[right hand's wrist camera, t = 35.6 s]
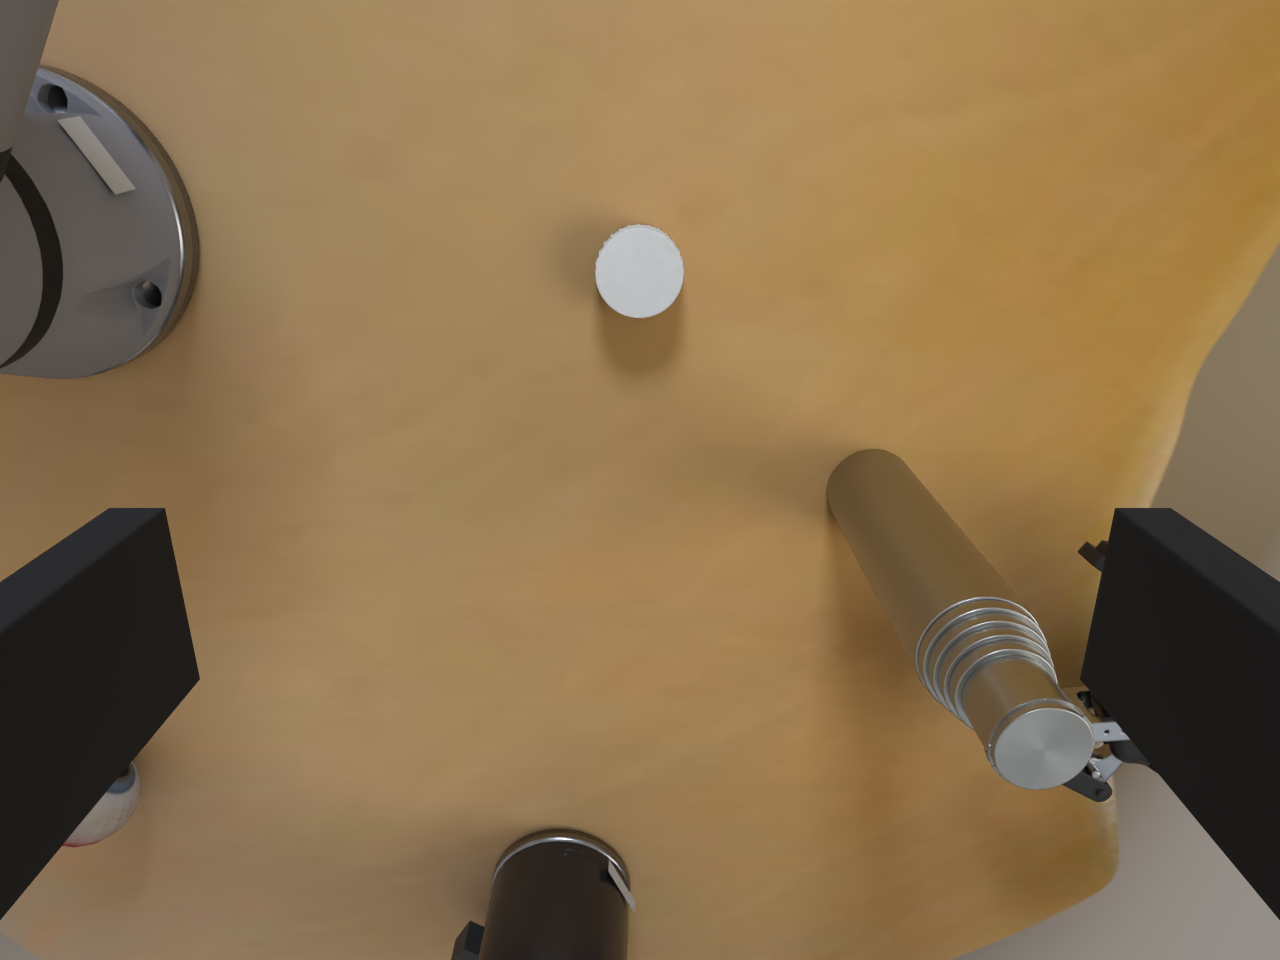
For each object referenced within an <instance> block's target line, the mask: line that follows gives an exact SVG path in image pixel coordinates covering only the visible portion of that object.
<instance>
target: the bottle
mask: <svg viewBox="0 0 1280 960" xmlns="http://www.w3.org/2000/svg"><path fill="white" fill-rule="evenodd" d="M827 501H828V505H829V508H830V510H831V512H832V513H833V515H834V517H835V519H836V521H837V523H838V525H839V527H840V529H841V531H842V532H843V534H844V536H845V538H846V540H847V542H848V544H849V546H850V548H851V550H852V551H853V553H854V555H855V557H856V559H857V561H858V563H859V565H860V567H861V569H862V570H863V572H864V574H865V576H866V578H867V580H868V582H869V584H870V586H871V588H872V589H873V591H874V593H875V595H876V597H877V599H878V601H879V603H880V605H881V607H882V608H883V610H884V612H885V614H886V616H887V618H888V620H889V622H890V624H891V626H892V627H893V629H894V631H895V633H896V635H897V637H898V639H899V641H900V643H901V645H902V646H903V648H904V650H905V652H906V654H907V656H908V658H909V660H910V662H911V664H912V665H913V667H914V669H915V671H916V673H917V675H918V677H919V679H920V681H921V682H922V684H923V685H924V687H925V688H926V689H927V690H928V691H929V692H930V694H931V695H932V696H933V697H934V698H935V699H936V700H937V701H938V702H939V703H940V704H942V705H943V706H944V707H945V708H946V709H947V710H949V711H950V712H951V713H953V714H954V715H955V716H956V717H957V718H958V719H960V720H961V721H963V722H964V723H965V724H966V725H967V726H968V727H970V728H971V729H973V730H975V732H976V734H977V735H978V737H979V739H980V741H981V742H982V744H983V746H984V751H985V753H986V756H987V759H988V760H989V762H990V763H991V766H992V767H993V768H994V770H995V771H996V772H997V773H998V775H999V776H1000V777H1002V778H1003V779H1005V780H1007V781H1008V782H1009V783H1011V784H1013V785H1015V786H1018V787H1021V788H1024V789H1031V790H1042V789H1049V788H1053V787H1056V786H1059V785H1062V784H1064V783H1066V782H1068V781H1069V780H1071V779H1072V778H1074V777H1075V776H1076V775H1078V774H1079V773H1080V772H1081V771H1082V770H1083V769H1084V767H1085V766H1086V765H1087V763H1088V762H1089V760H1090V758H1091V756H1092V753H1093V749H1094V747H1095V732H1094V729H1093V726H1092V724H1091V723H1090V721H1089V720H1088V719H1087V717H1086V716H1085V715H1084V714H1083V712H1082V711H1081V710H1080V708H1078V707H1077V706H1075V705H1074V704H1073V703H1072V702H1071V701H1070V700H1069V698H1068V697H1067V696H1066V695H1065V693H1064V692H1063V691H1062V689H1061V688H1060V687H1059V686H1058V679H1057V675H1056V673H1055V668H1054V664H1053V661H1052V659H1051V654H1050V651H1049V648H1048V644H1047V640H1046V638H1045V635H1044V633H1043V632H1042V630H1041V628H1040V626H1039V624H1038V622H1037V620H1036V619H1035V617H1034V616H1033V615H1032V614H1031V612H1030V611H1029V610H1028V609H1027V608H1026V607H1025V605H1024V604H1023V603H1022V602H1021V601H1020V599H1019V598H1018V597H1017V596H1016V595H1015V593H1014V592H1013V591H1012V590H1011V589H1010V587H1009V586H1008V585H1007V584H1006V583H1005V582H1004V580H1003V579H1002V578H1001V577H1000V576H999V574H998V573H997V572H996V571H995V570H994V568H993V567H992V566H991V565H990V564H989V562H988V561H987V560H986V559H985V558H984V557H983V555H982V554H981V553H980V552H979V551H978V549H977V548H976V547H975V546H974V545H973V543H972V542H971V541H970V540H969V539H968V537H967V536H966V535H965V534H964V533H963V532H962V530H961V529H960V528H959V527H958V526H957V524H956V523H955V522H954V521H953V520H952V518H951V517H950V516H949V515H948V514H947V513H946V511H945V510H944V509H943V508H942V507H941V505H940V504H939V503H938V502H937V501H936V499H935V498H934V497H933V496H932V495H931V493H930V492H929V491H928V490H927V489H926V488H925V486H924V485H923V484H922V483H921V482H920V480H919V479H918V478H917V477H916V476H915V474H914V473H913V472H912V471H911V470H910V468H909V467H908V466H907V465H906V464H905V463H904V461H903V460H901V459H900V458H899V457H897V456H896V455H894V454H892V453H890V452H887V451H883V450H865V451H861V452H858V453H855V454H853V455H851V456H849V457H848V458H846V459H845V460H844V461H842V462H841V463H840V464H839V465H838V466H837V467H836V469H835V470H834V471H833V473H832V475H831V477H830V479H829V482H828V486H827Z"/></svg>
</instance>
